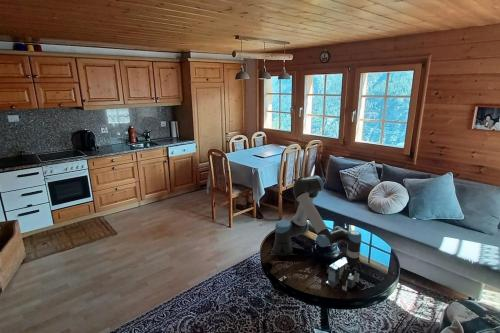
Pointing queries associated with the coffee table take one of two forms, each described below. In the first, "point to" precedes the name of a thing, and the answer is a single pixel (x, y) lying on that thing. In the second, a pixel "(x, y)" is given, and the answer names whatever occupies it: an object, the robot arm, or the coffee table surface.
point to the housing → (336, 272)
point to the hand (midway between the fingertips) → (350, 285)
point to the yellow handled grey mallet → (348, 280)
